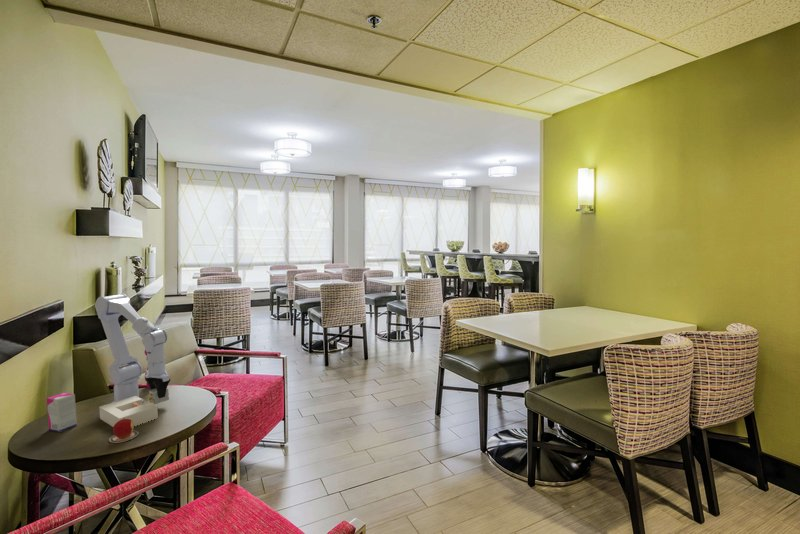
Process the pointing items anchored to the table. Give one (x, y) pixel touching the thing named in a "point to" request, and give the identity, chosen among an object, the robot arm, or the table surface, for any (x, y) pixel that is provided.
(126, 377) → the robot arm
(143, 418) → the socket housing
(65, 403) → the supplement box
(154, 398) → the plug
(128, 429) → the red rounded piece
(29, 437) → the table surface
